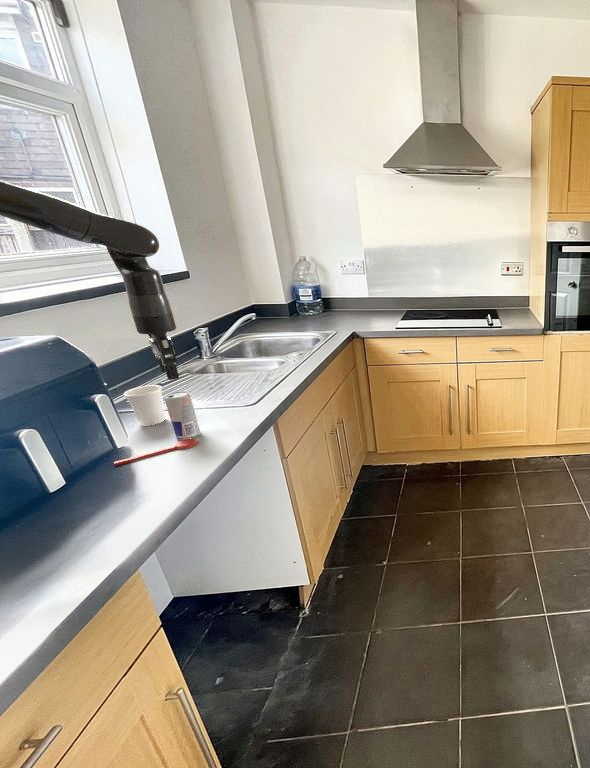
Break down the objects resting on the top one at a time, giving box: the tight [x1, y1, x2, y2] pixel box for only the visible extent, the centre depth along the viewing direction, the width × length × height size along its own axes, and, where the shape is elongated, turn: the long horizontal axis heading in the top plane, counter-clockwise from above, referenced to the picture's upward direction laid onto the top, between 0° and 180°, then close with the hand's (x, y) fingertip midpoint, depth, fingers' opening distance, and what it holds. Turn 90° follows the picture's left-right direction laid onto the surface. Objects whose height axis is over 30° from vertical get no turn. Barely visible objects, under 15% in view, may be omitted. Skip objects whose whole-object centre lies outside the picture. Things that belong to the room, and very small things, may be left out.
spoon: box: [113, 438, 198, 467], centre depth 103 cm, size 16×4×1 cm, turn 136°
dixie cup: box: [123, 384, 166, 427], centre depth 119 cm, size 8×8×10 cm
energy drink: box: [164, 390, 201, 441], centre depth 111 cm, size 5×5×12 cm
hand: (170, 375), depth 107 cm, fingers open, 8 cm apart
